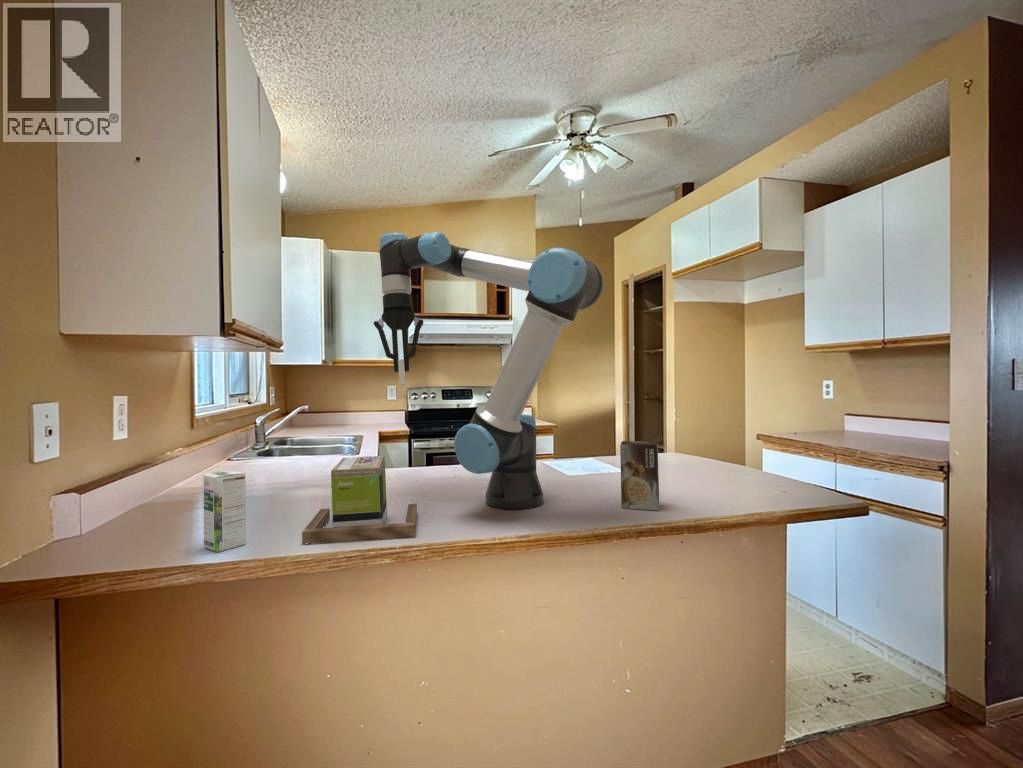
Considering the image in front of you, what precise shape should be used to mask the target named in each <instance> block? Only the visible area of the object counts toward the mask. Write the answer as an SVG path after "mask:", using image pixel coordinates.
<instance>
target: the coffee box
mask: <svg viewBox="0 0 1023 768" xmlns="http://www.w3.org/2000/svg"><path fill="white" fill-rule="evenodd" d="M658 444H659V443H658V441H641V440H640V441H637V440H636V441H633V440H626V441H625V440H622V441H621V442H620V445H619V451H620V453H619V455H620V457H619V458H620V498H621V499H620V500H621V501H620V502H621V506H620V508H621V509H625V510H626V509H627V510H643V511H644V510H645V511H658V512H659V511H660V507H661V505H660V504H661V503H660V483H659V482H660V481H659V478H660V475H659V445H658Z"/></svg>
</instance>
